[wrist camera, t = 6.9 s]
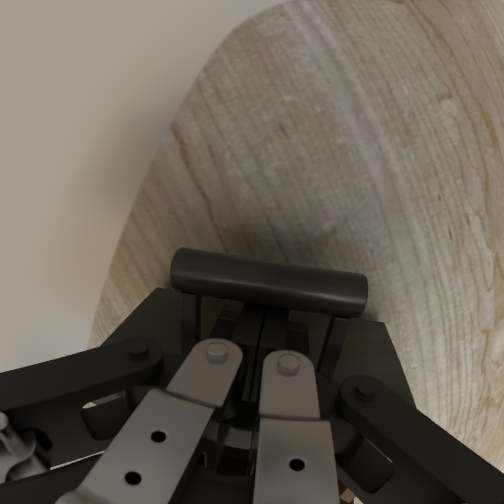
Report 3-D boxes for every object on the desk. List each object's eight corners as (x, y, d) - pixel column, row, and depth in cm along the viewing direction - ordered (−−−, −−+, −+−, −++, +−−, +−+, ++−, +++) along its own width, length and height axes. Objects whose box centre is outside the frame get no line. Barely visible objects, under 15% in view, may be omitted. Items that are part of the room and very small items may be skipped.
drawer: (155, 208, 14) (43, 264, 7) (407, 244, 13) (491, 334, 6) (171, 437, 21) (139, 509, 13) (319, 463, 19) (316, 542, 12)
